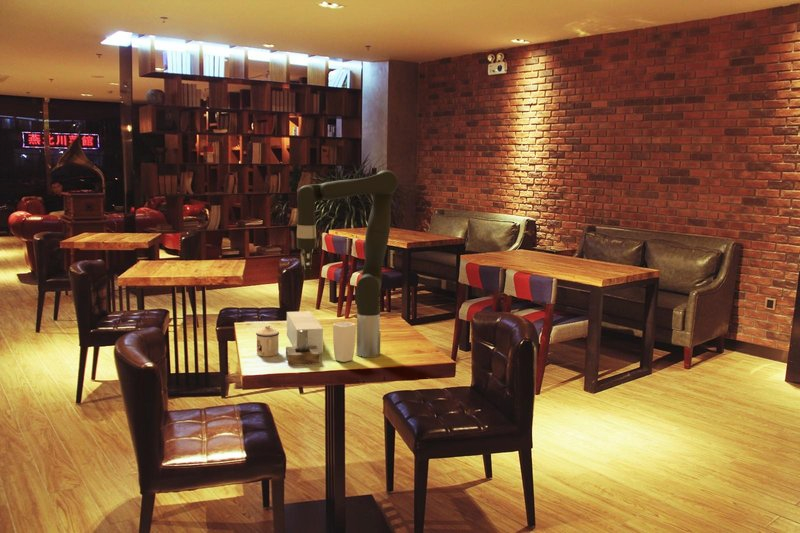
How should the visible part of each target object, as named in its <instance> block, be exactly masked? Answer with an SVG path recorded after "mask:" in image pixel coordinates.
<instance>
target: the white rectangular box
mask: <svg viewBox="0 0 800 533" xmlns="http://www.w3.org/2000/svg"><path fill="white" fill-rule="evenodd" d="M300 329H305V330H308V346H316V347H317V349H318V351H319V353H320V355H321V353H322V354H323V353H324V352H323V351H324V327H323V326H322V325H321V323H320V322H319V321H318V320H317V318H316V317H315V316H314V313H313V312H312V311H310V310H309V311H308V310H307V311H306V310H305V311H286V336H287V338H288V340H289V342H290V344H291V347H294V346H297V331H298V330H300Z"/></svg>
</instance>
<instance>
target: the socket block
mask: <svg viewBox="0 0 800 533" xmlns="http://www.w3.org/2000/svg"><path fill="white" fill-rule="evenodd" d="M285 358H286V361H288V362H287V364H288V366H300V365H302V366H305V365H306V364H307V365H320V364H321V363H320V362H321V354H320V353H319V351H318V349H317V347H316V346H308V352H299V353H297V346H294V347H293V346H285Z"/></svg>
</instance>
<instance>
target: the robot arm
mask: <svg viewBox="0 0 800 533" xmlns="http://www.w3.org/2000/svg"><path fill="white" fill-rule="evenodd" d="M398 186H399V179H398V176H397V175H396V174H395V173H394V172H393V171H392V170H388V169H383V170H380V171H378V172H377V173H376V174H373V175H371V176H367V177H362V178H355V179H354V178H353V179H351V178H350V179H342V180H341V179H340V180H332V181H327V182H326V181H325V182H323V183H318V184H317V183H315V184H314V183H313V184H306V185H302V186H301V187H300V188H298V190H297V193H296V195H297V196H296V200H297V201H296V202H297V227H296V248H297V249H298V250H300V263H301V266H302V267H301V270H302V273H301V275H302V276H304V279H306V280H310V279H311V269H312V268H313V267H312V263H313V262H312V261H313V260H312V257H313V256H312V255H313V254H312V252H311V250H314V249H316V248H317V229H316V228H317V227H316V211H315V210H316V202H320V201H321V202H322V201H333V200H338V199H345V198H350V197H354V196H361V195H369V194H373V198H372V206H371V210H370V213H369V216H368V217H369V218H368V221H367V226H366V231H365V232H366V233H365V239H364V240H365V241H364V254H365V256H364V265H363V269H362V273H361V276H360V278H359V279H358V281H357V283H356V291H355V292H356V293H355V294H356V295H355V296H356V309H357V310H356V315H357V316H356V356H358V357H361V356H362V357H363V358H374V356H375V357H379V355H380V356H381V340H382V339H381V332H380V329H381V328H380V327H381V326H380V325H381V324H380V323H381V321H380V320H381V318H380V317H381V315H380V314H381V307H380V291H381V287H382V276H383V274H382V273H383V265H384V260H385V256H386V252H387V248H388V244H389V243H388V242H389V237H390V231H391V217H392V216H391V207H392V201H393V197H394V193H395V191H396V190H397V188H398Z"/></svg>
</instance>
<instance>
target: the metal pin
mask: <svg viewBox="0 0 800 533" xmlns="http://www.w3.org/2000/svg"><path fill="white" fill-rule="evenodd" d="M299 352H308V330H305V329H300V330H298V331H297V353H299Z"/></svg>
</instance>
